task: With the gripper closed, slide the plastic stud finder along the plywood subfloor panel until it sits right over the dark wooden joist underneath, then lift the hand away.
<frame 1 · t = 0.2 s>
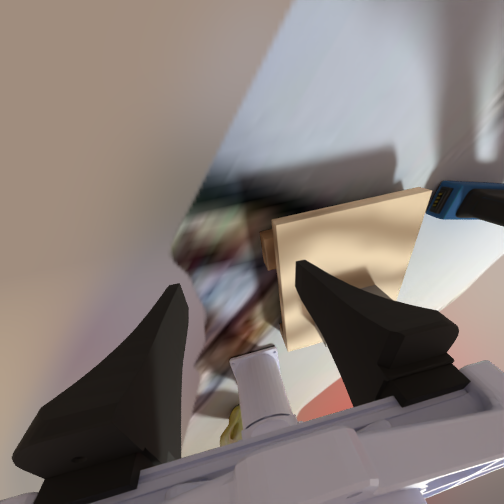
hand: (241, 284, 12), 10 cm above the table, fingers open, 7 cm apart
mug: (242, 407, 42), on the table
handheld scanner: (463, 199, 26), on the table
subfloor: (331, 269, 27), on the table
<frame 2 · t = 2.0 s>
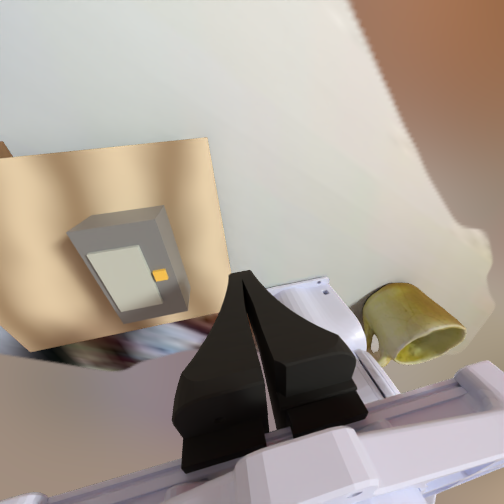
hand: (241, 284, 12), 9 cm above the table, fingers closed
mug: (374, 306, 32), on the table
subfloor: (119, 244, 19), on the table
stud finder: (148, 256, 16), point 3 cm above the table, touching subfloor
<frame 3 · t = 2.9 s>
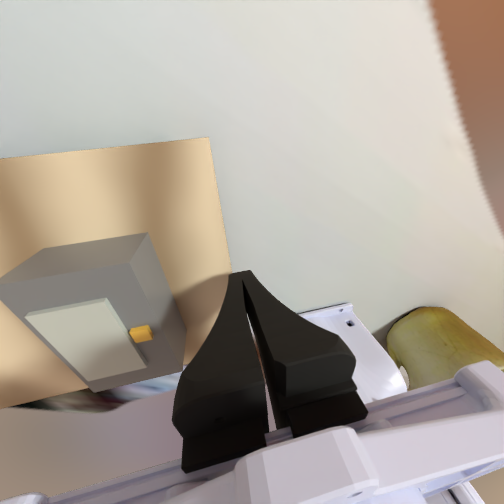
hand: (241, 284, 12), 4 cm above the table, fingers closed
mug: (400, 331, 28), on the table
subfloor: (95, 274, 15), on the table
stud finder: (128, 297, 12), point 3 cm above the table, touching subfloor
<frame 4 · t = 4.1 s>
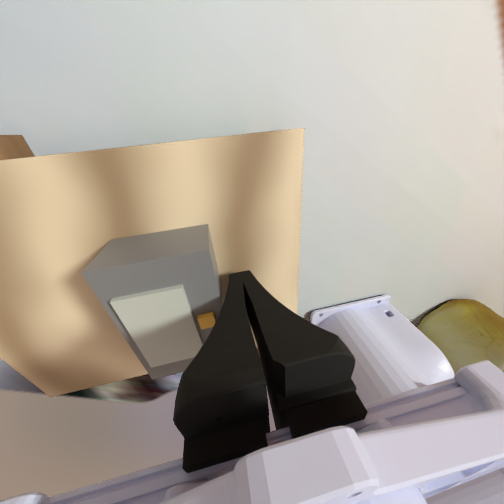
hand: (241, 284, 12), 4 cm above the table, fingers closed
mug: (428, 324, 29), on the table
subfloor: (159, 263, 15), on the table
stud finder: (181, 288, 13), point 4 cm above the table, touching gripper
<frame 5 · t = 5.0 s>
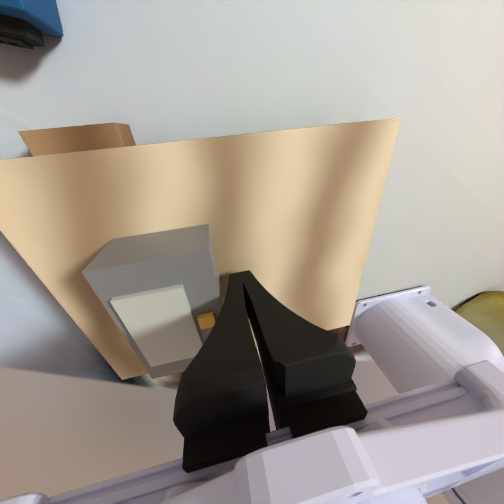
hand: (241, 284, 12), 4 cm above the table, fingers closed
mug: (459, 316, 29), on the table
subfloor: (226, 251, 16), on the table
stud finder: (181, 287, 13), point 4 cm above the table, touching gripper
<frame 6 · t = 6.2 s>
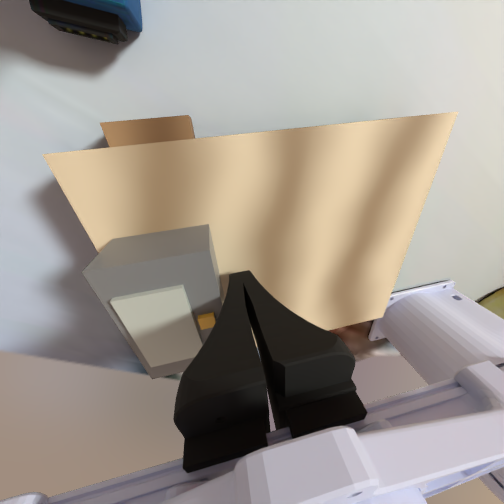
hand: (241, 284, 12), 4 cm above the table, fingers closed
mug: (478, 312, 30), on the table
subfloor: (266, 244, 16), on the table
stud finder: (182, 287, 13), point 3 cm above the table, touching gripper, subfloor
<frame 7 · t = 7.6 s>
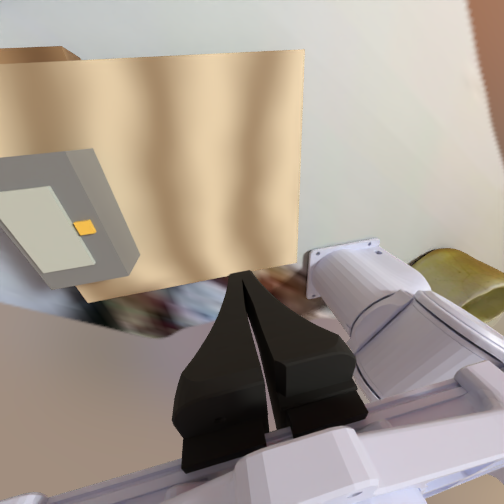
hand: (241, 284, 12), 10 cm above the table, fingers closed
mug: (415, 276, 32), on the table
subfloor: (180, 189, 18), on the table
stud finder: (83, 214, 14), point 3 cm above the table, touching subfloor
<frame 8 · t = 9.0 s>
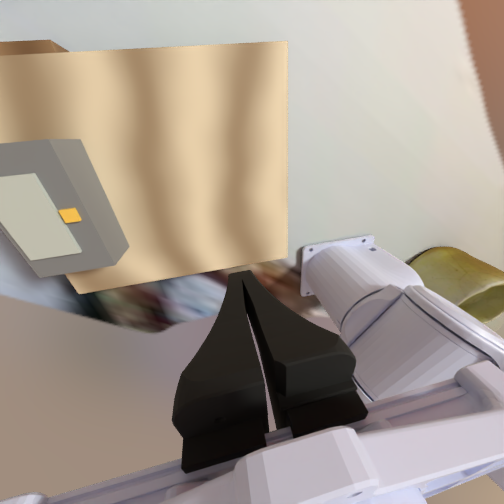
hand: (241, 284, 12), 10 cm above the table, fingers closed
mug: (413, 275, 31), on the table
subfloor: (171, 183, 18), on the table
stud finder: (72, 204, 15), point 3 cm above the table, touching subfloor
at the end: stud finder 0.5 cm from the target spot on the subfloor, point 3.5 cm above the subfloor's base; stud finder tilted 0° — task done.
